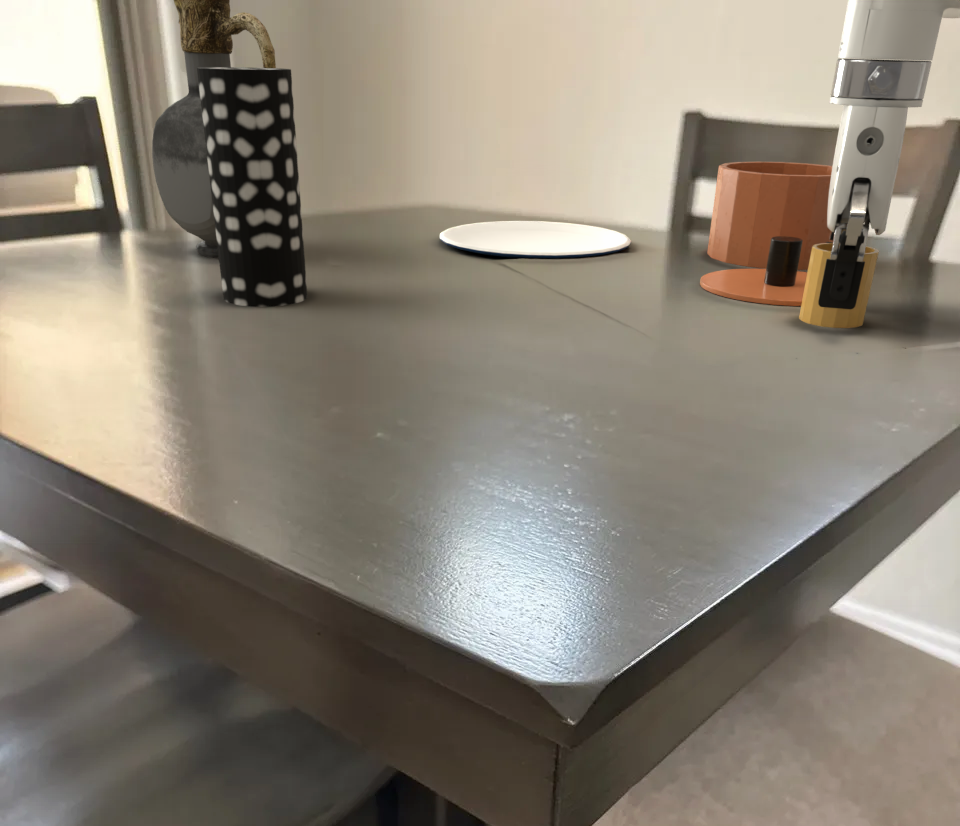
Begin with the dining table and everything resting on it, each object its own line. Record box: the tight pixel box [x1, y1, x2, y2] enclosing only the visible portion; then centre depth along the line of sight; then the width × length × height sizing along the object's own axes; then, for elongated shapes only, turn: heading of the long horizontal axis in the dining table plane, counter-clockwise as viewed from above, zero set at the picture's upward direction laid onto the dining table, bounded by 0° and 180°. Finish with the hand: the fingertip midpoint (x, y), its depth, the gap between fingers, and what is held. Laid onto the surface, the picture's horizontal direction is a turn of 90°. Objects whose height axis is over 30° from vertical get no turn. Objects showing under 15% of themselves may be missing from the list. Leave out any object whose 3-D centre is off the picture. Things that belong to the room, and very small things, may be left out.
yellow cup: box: [798, 243, 880, 329], centre depth 91 cm, size 6×6×7 cm
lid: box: [699, 236, 808, 307], centre depth 103 cm, size 17×17×6 cm
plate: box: [439, 220, 632, 260], centre depth 127 cm, size 25×25×1 cm
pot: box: [706, 161, 833, 271], centre depth 118 cm, size 16×16×10 cm
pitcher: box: [151, 0, 277, 259], centre depth 109 cm, size 11×19×30 cm, turn 49°
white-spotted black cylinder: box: [197, 66, 308, 308], centre depth 93 cm, size 8×8×20 cm
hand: (835, 296), depth 91 cm, fingers open, 9 cm apart
